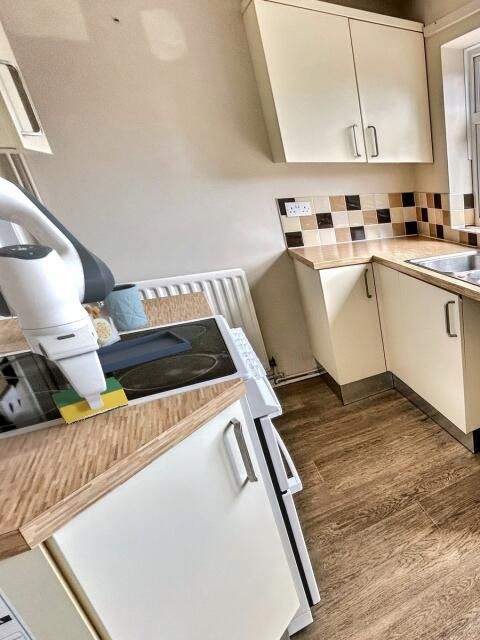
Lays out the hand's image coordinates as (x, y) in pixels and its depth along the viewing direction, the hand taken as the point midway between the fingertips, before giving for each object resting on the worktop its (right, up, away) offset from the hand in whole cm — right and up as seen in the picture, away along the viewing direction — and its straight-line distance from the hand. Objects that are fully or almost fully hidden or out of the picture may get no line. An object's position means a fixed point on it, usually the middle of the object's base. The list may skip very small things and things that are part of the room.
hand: (92, 401), depth 82 cm
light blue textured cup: (-35, +16, +47) cm, 61 cm away
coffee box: (-30, +10, +31) cm, 45 cm away
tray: (-16, +8, +25) cm, 30 cm away
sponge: (0, -2, +1) cm, 2 cm away
